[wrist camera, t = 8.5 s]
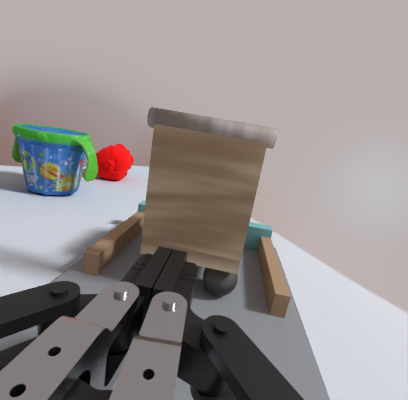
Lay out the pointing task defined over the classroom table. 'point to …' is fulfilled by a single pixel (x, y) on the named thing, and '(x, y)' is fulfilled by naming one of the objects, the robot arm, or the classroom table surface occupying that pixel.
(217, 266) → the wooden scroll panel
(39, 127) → the snack cup
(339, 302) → the classroom table surface
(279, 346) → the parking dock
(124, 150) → the flower
